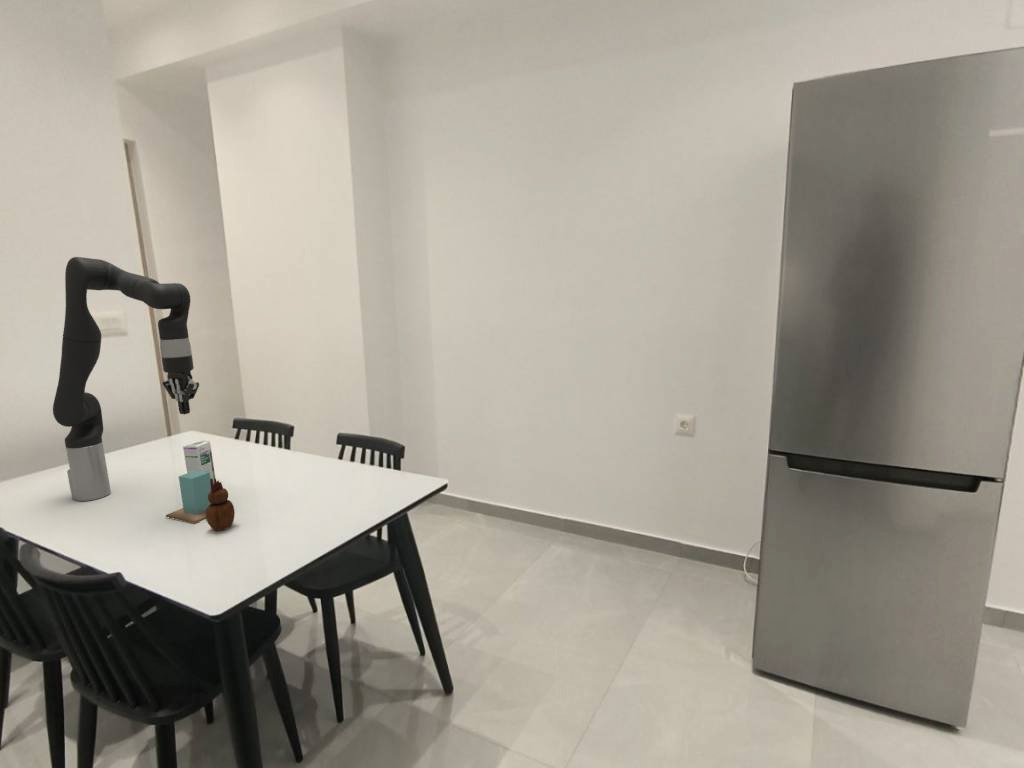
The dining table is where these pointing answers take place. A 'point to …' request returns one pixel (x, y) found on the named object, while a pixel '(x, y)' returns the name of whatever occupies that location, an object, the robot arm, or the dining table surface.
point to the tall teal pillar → (195, 491)
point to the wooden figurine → (219, 507)
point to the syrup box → (199, 457)
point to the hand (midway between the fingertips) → (184, 413)
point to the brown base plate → (187, 516)
